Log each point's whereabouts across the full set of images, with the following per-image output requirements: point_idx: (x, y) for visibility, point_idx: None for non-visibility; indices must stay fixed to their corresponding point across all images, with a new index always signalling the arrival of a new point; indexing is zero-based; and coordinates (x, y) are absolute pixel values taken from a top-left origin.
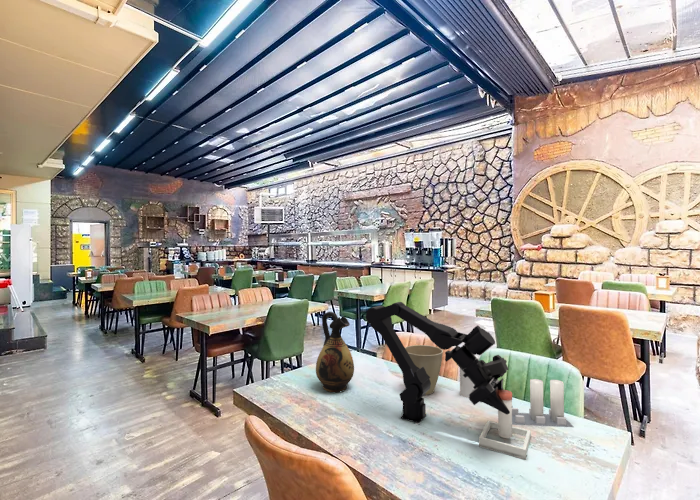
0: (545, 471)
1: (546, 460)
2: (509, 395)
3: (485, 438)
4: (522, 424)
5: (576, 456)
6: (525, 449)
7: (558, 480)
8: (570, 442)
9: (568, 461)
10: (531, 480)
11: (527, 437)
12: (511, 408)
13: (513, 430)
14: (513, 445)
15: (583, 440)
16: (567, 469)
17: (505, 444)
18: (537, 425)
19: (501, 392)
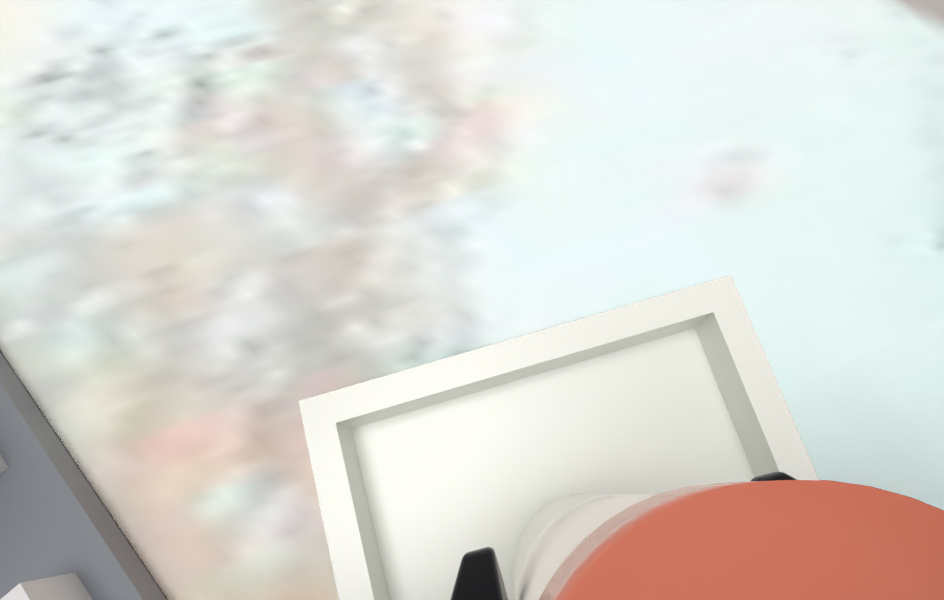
0: (727, 146)
1: (572, 194)
2: (938, 509)
3: None
4: (116, 577)
5: (343, 78)
6: (720, 281)
7: (758, 56)
8: (149, 169)
9: (458, 90)
10: (928, 167)
11: (473, 363)
12: (650, 495)
13: (373, 568)
14: (751, 393)
15: (50, 117)
16: (572, 63)
17: (807, 461)
18: (41, 449)
19: None
